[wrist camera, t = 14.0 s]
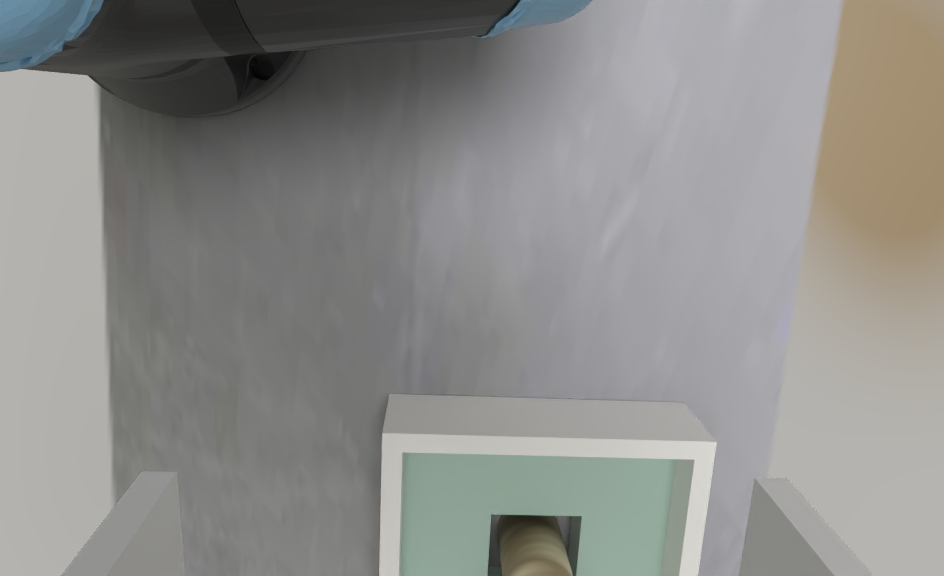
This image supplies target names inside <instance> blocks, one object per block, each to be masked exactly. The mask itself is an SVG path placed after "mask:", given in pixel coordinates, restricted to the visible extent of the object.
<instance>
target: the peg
mask: <svg viewBox="0 0 944 576" xmlns="http://www.w3.org/2000/svg"><path fill="white" fill-rule="evenodd" d="M497 539H498V546H499V553H500V561H501V568H502V576H573V574H572V570H571V567H570V563H569V560H568V556H567V553H566V549H565V546H564V542H563V539H562V535H561V532H560V528H559V525H558V521H557V519H556V517H555V516H543V515H502V516H501V518H500V519H499V522H498V525H497Z"/></svg>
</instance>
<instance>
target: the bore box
mask: <svg viewBox="0 0 944 576" xmlns="http://www.w3.org/2000/svg"><path fill="white" fill-rule="evenodd" d="M716 444H717V442H716V440H715V439H714V438H713V437H712V436H711V434H710V433H709V432H708V431H707V430H706V428H705V427H704V426H703V425H702V424H701V422H700V421H699V420H698V419H697V418H696V416H695V415H694V414H693V413H692V412H691V410H690V409H689V408H688V407H687V406H686V404H685V403H684V402H653V401H619V400H584V399H550V398H516V397H482V396H447V395H413V394H389V398H388V404H387V409H386V415H385V420H384V426H383V432H382V468H381V516H380V564H379V576H502V568H501V567H488V558H489V542H490V525H491V514H494V515H543V516H571V527H570V538H569V549H568V560H569V563H570V567H571V570H572V574H573V576H698V571H699V564H700V556H701V549H702V542H703V535H704V528H705V521H706V514H707V507H708V500H709V493H710V486H711V479H712V472H713V465H714V458H715V451H716Z"/></svg>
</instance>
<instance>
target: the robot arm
mask: <svg viewBox="0 0 944 576" xmlns="http://www.w3.org/2000/svg"><path fill="white" fill-rule="evenodd" d="M591 1H592V0H0V72H5V71H12V70H17V69H28V70H39V71H49V72H60V73H70V74H81V75H88V76H89V77H90V78H91V79H92V80H93V81H95V82H96V83H97V84H99V85H100V86H101V87H103V88H104V89H106V90H107V91H109V92H110V93H112V94H114V95H115V96H117V97H119V98H121V99H123V100H125V101H127V102H129V103H131V104H134V105H136V106H139V107H141V108H144V109H147V110H150V111H154V112H158V113H162V114H168V115H175V116H213V115H220V114H225V113H230V112H233V111H237V110H240V109H242V108H245V107H247V106H250V105H252V104H254V103H256V102H258V101H259V100H261V99H263V98H264V97H266V96H267V95H269V94H270V93H272V92H273V91H274V90H275V89H277V88H278V87H279V86H280V85H281V84H282V83H283V82H284V81H285V80H286V79H287V78H288V77H289V76H290V75H291V73H292V72H293V71H294V70H295V68H296V67H297V66H298V64H299V63H300V61H301V59H302V58H303V56H304V54H305V52H306V50H309V49H321V48H333V47H345V46H358V45H370V44H382V43H394V42H406V41H419V40H431V39H443V38H455V37H468V36H472V37H475V38H479V39H482V38H487V37H488V36H490V37H494V36H497V35H499V34H501V33H503V32H505V31H506V30H510V29H516V28H523V27H529V26H536V25H542V24H549V23H555V22H559V21H562V20H565V19H567V18H569V17H571V16H574V15H575V14H577V13H578V12H580V11H581V10H583V9H584V8H585V7H586V6H587V5H588V4H589V3H590V2H591ZM61 576H185V565H184V553H183V540H182V528H181V515H180V503H179V490H178V478H177V472H162V471H142V472H141V473H140V474H139V475H138V477H137V478H136V479H135V481H134V482H133V483H132V484H131V486H130V487H129V488H128V490H127V491H126V492H125V494H124V495H123V496H122V497H121V499H120V500H119V501H118V503H117V504H116V505H115V506H114V508H113V509H112V510H111V512H110V513H109V514H108V516H107V517H106V518H105V519H104V521H103V522H102V523H101V525H100V526H99V527H98V529H97V530H96V531H95V532H94V534H93V535H92V536H91V538H90V539H89V540H88V541H87V543H86V544H85V546H84V547H83V548H82V549H81V551H80V552H79V553H78V554H77V556H76V557H75V558H74V560H73V561H72V562H71V564H70V565H69V566H68V568H67V569H66V570H65V571H64V573H63V574H62V575H61ZM739 576H874V575H873V574H872V573H871V572H870V570H869V569H868V568H867V567H866V566H865V565H864V564H863V563H862V562H861V560H860V559H859V558H858V557H857V556H856V555H855V554H854V553H853V552H852V550H851V549H850V548H849V547H848V546H847V545H846V544H845V543H844V541H843V540H842V539H841V538H840V537H839V536H838V535H837V534H836V532H835V531H834V530H833V529H832V528H831V527H830V526H829V525H828V524H827V522H826V521H825V520H824V519H823V518H822V517H821V516H820V515H819V514H818V512H817V511H816V510H815V509H814V508H813V507H812V506H811V504H810V503H809V502H808V501H807V500H806V499H805V498H804V497H803V496H802V494H801V493H800V492H799V491H798V490H797V489H796V488H795V487H794V485H793V484H792V483H791V482H790V481H789V480H788V479H787V478H755V480H754V486H753V492H752V499H751V505H750V511H749V517H748V523H747V529H746V536H745V542H744V548H743V554H742V560H741V566H740V573H739Z"/></svg>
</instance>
